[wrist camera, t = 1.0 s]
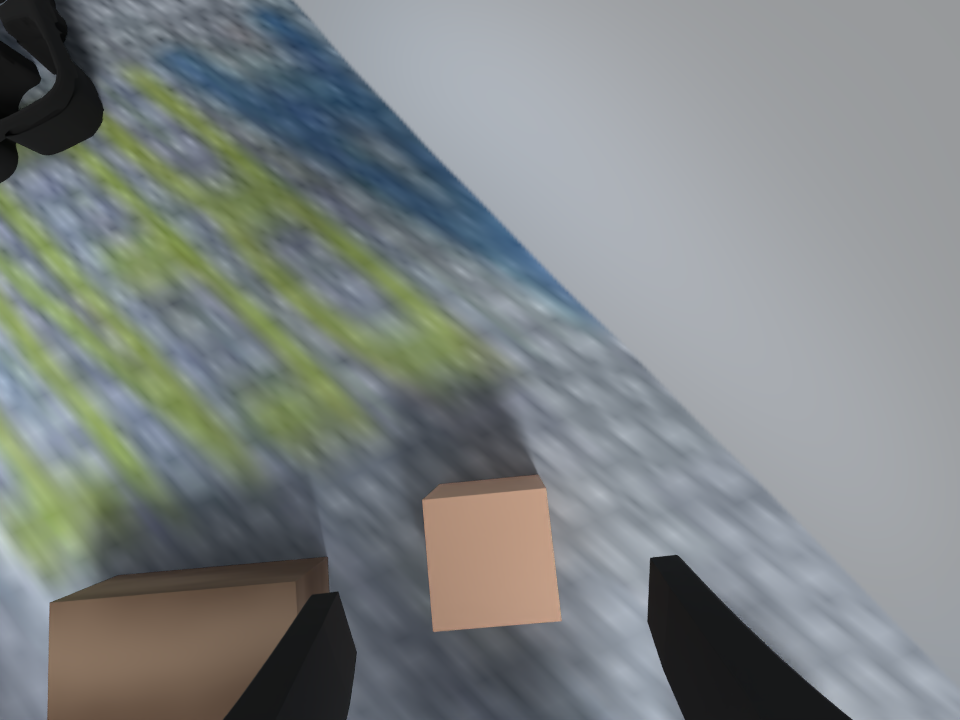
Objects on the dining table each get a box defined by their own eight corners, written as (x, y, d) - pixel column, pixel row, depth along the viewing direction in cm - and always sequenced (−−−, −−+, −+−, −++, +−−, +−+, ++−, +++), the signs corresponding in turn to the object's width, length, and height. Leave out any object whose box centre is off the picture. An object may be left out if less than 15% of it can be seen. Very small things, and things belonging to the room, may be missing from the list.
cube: (550, 578, 23) (561, 621, 18) (448, 587, 23) (432, 631, 18) (537, 474, 24) (545, 488, 19) (439, 484, 24) (422, 500, 19)
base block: (343, 792, 23) (308, 871, 19) (123, 807, 23) (44, 887, 19) (330, 554, 24) (295, 581, 20) (123, 573, 25) (49, 602, 21)
